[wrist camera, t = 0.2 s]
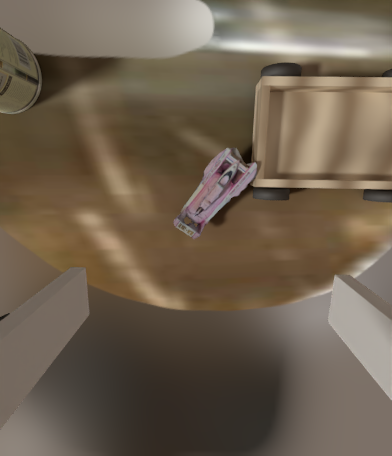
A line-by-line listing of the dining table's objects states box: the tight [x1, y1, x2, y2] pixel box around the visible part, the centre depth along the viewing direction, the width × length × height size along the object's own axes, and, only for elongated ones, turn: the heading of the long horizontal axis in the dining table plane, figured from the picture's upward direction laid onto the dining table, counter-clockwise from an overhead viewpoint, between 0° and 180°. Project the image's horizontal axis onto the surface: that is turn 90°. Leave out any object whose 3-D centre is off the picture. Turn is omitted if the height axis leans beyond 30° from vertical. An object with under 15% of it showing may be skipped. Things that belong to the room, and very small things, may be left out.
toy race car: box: [173, 148, 257, 239], centre depth 36 cm, size 13×6×4 cm, turn 145°
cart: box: [250, 63, 392, 202], centre depth 35 cm, size 22×17×6 cm
